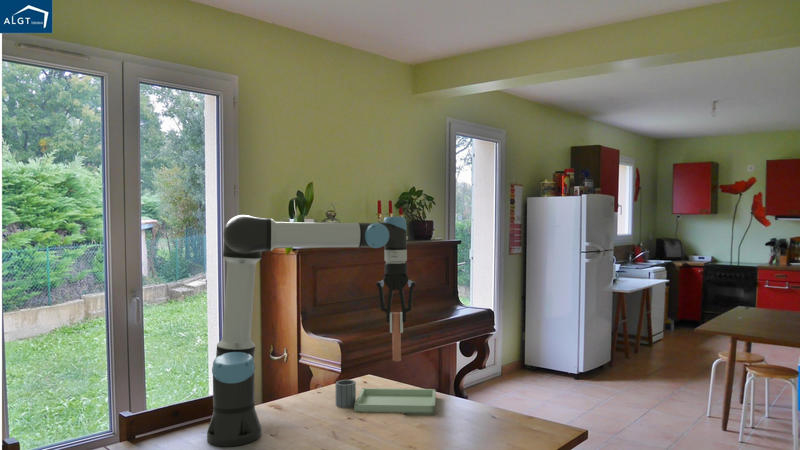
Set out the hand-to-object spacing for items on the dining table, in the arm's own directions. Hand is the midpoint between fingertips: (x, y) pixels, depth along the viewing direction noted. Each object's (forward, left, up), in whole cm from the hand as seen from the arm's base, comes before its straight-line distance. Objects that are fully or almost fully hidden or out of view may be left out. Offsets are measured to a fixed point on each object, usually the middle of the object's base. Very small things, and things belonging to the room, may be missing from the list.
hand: (396, 331), depth 193 cm
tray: (0, 0, -25) cm, 25 cm away
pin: (+1, 0, -10) cm, 10 cm away
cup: (-17, -2, -25) cm, 30 cm away
